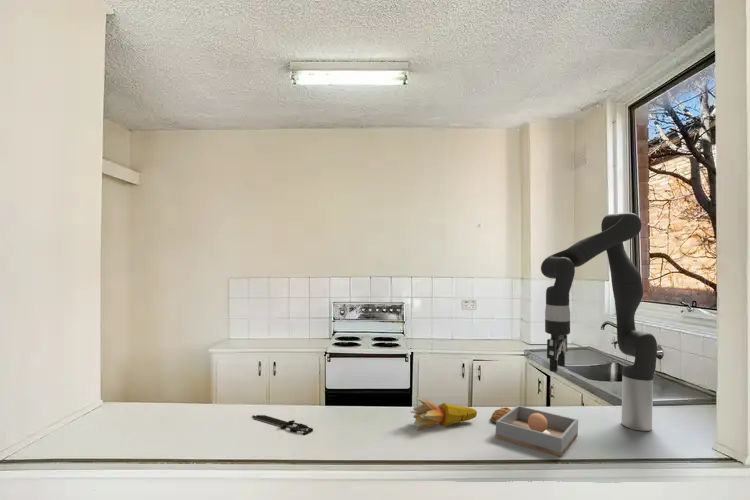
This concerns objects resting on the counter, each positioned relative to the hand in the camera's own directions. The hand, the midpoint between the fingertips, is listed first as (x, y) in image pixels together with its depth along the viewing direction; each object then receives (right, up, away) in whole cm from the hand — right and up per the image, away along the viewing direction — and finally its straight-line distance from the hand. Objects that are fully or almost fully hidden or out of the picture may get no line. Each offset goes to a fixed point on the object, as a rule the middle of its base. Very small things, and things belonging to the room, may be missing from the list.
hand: (557, 368), depth 140 cm
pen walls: (-6, -21, 0) cm, 22 cm away
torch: (-36, -22, +7) cm, 42 cm away
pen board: (-6, -22, 0) cm, 23 cm away
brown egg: (-6, -18, 0) cm, 19 cm away
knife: (-91, -20, +4) cm, 93 cm away
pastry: (-14, -23, +14) cm, 30 cm away
